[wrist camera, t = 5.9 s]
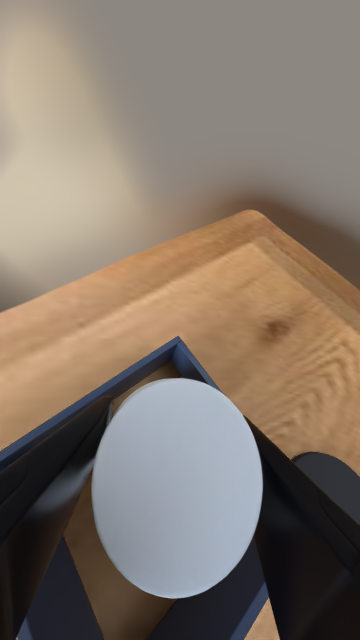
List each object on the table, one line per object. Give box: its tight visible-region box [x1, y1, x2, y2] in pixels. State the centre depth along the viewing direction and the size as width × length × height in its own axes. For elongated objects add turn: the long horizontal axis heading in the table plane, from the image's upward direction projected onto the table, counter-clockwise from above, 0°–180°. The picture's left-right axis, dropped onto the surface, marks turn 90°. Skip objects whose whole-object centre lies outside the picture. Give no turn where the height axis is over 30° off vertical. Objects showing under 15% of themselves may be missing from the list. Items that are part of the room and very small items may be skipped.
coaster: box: [292, 452, 360, 524], centre depth 15 cm, size 9×9×1 cm
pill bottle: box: [91, 378, 263, 598], centre depth 9 cm, size 6×6×10 cm
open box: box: [0, 336, 269, 640], centre depth 13 cm, size 14×14×5 cm
